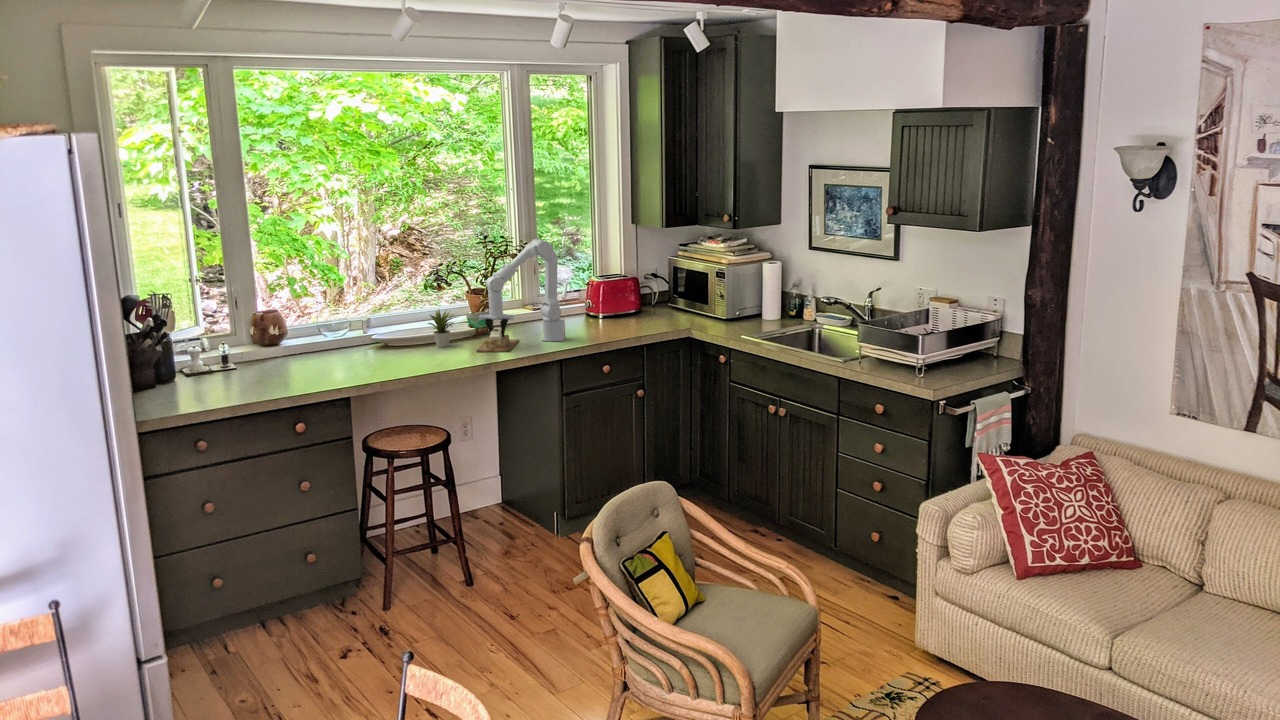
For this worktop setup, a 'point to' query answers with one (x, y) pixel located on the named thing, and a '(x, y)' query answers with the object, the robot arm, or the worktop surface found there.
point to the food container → (478, 322)
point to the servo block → (496, 334)
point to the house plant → (442, 328)
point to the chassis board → (498, 345)
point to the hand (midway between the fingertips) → (497, 336)
